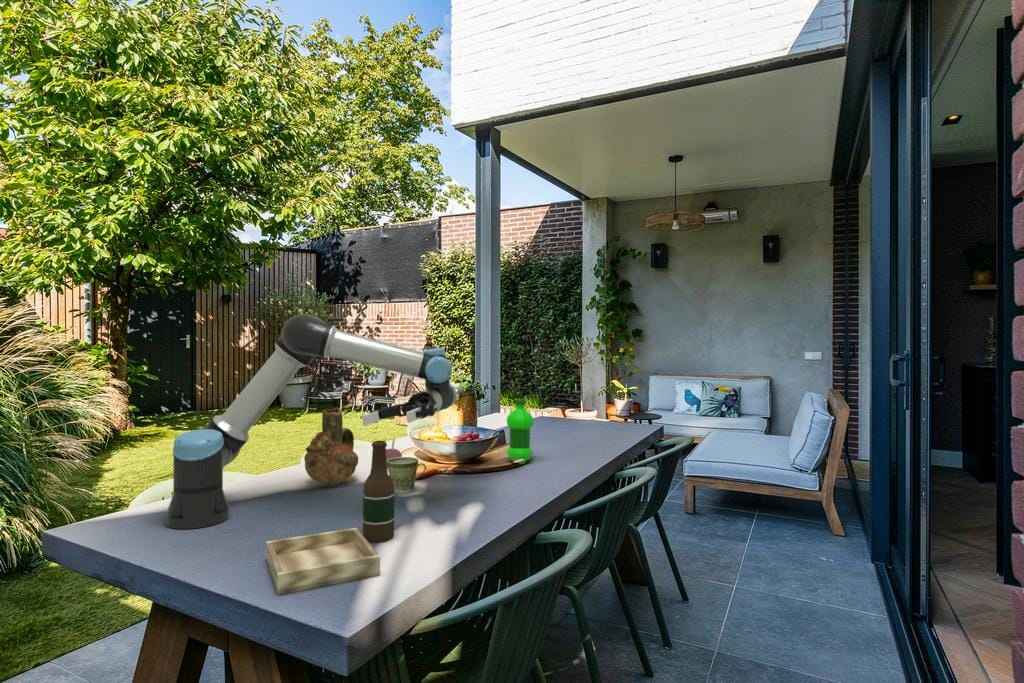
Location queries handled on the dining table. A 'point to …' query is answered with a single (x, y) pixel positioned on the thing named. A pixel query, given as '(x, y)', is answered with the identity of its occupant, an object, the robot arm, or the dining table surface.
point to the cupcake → (392, 453)
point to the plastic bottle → (520, 432)
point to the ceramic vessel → (331, 451)
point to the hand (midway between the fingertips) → (385, 419)
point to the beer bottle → (378, 498)
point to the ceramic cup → (403, 473)
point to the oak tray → (320, 560)
